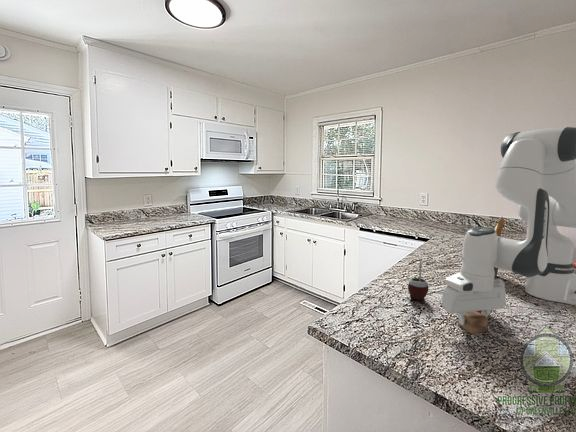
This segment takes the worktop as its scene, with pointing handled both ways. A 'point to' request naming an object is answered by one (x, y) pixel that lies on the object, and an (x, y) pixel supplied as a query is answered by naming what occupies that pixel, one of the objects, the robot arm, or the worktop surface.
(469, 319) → the walnut block
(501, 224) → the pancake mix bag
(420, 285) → the mate gourd
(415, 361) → the worktop surface
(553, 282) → the robot arm
